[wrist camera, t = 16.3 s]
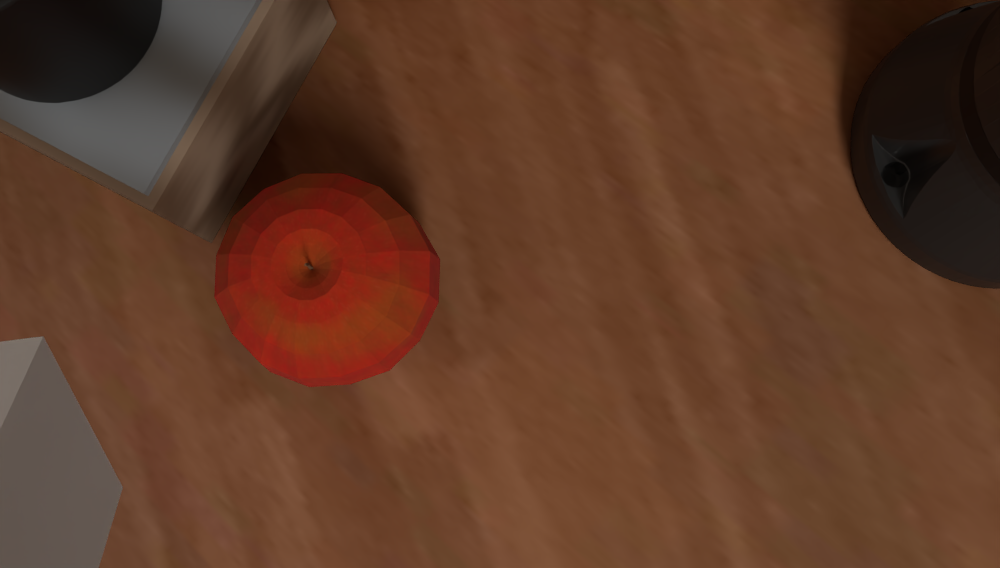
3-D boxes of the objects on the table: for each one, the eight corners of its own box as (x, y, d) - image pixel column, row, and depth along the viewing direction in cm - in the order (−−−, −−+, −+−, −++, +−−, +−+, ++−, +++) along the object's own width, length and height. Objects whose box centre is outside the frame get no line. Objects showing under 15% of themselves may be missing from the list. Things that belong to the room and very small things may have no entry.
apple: (473, 243, 50) (463, 196, 39) (401, 418, 49) (369, 423, 38) (301, 175, 51) (241, 109, 39) (225, 347, 50) (142, 330, 38)
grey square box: (120, -87, 53) (41, -187, 44) (336, 22, 52) (301, -57, 43) (-10, 126, 51) (-119, 68, 42) (211, 242, 50) (147, 208, 41)
